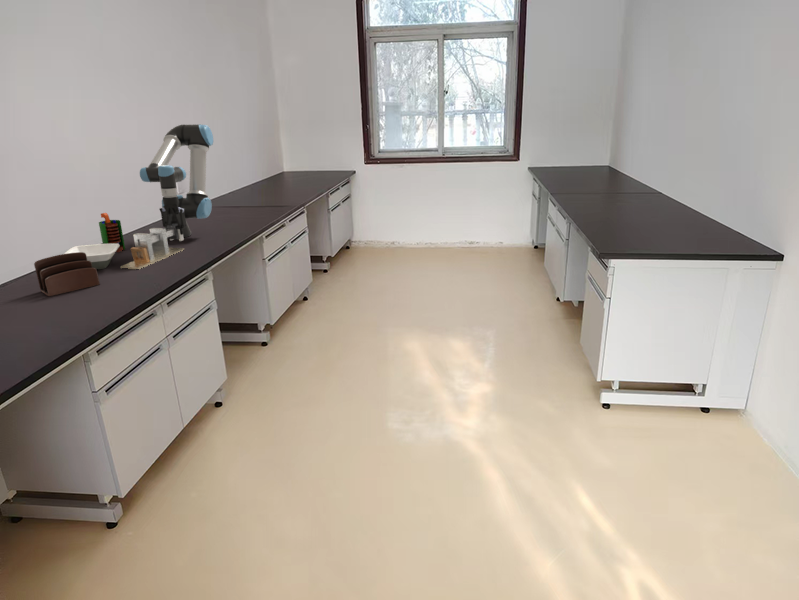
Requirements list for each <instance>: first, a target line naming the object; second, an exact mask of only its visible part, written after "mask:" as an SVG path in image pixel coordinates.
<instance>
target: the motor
mask: <svg viewBox="0 0 799 600" xmlns="http://www.w3.org/2000/svg"><path fill="white" fill-rule="evenodd" d="M100 216H101V217H100V218H103V219H104V220H102V221H99V222H98V226H99V231H100V237H101V242H102V243H101V244H117V243H118V244H119V245H120V246H119V248H118V249H117V251H116V252H117V253H121V252H123V251H124V250H126V246H125V240H124V234H123V233H124V232H123V228H122V223H121V220H119V219H110V217H109V214H108V213H107V212H103V213H100ZM122 250H123V251H122ZM120 251H121V252H120Z"/></svg>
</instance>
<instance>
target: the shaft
mask: <svg viewBox="0 0 799 600" xmlns="http://www.w3.org/2000/svg"><path fill="white" fill-rule="evenodd" d="M178 228H179V227H178V224H171V225H168V226H167V230H166V235H167V237H169V240H170V239H174V240H179V234H178ZM150 237H151V243H154V242H157V241H159V240H160V234H153V235H150ZM183 237H184V234H183ZM139 243H140V245H141V246H145V245H144V240H143V239H139Z"/></svg>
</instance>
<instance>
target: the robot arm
mask: <svg viewBox="0 0 799 600" xmlns="http://www.w3.org/2000/svg"><path fill="white" fill-rule="evenodd" d="M213 145H214V136H213V132H212V130H211V128H210V126H209V125H207V124H180V125H179V124H178V125H176V126H174V127H173V128H171V129H170V130H169V131H168V132H167V133H166V134H165V135H164V136H163V141H162V144H161V146H160V147H159V149H158V150H157V152H156V154H155V155H154V157H153V159H152V160H151V161H150V163H149V165H148V166H147V167H141V168H140V170H139V177H140V179H141V181H142V182H144V183H145V182H146V183H159V184H160V190H161V192H160V193H161V197H162V200H161V207H159V211H160V216H161V220H162V221H161V222H162V227H164V228H165V229H166V230H167V226H168V225H171V224H178V227H179V228H178V234H179V239H178V241H179V242H182V241H184V240H185V238H188V236H189V237H191V236H192V235H191V234H192V230H191V229H190V227H189V224H188V222H187V219H199V220H201V219H206V218H208V217H209V216H210V215H211V212H212V208H213V207H212V206H213V205H212V200H211V199H210V198H209V195H208V194H207V193H206V180H207V179H206V178H207V177H206V176H207V175H206V174H207V152H209V150H210V147H211V146H213ZM183 146H187V148H188V149H189V150H190V154H189V155H190V157H189V158H190V159H189V190H188V192H187V193H186V194H185V195H186V197H184V196H183V195H182V194H178V189H177V183H180V182H182V181H184V180H185V179H186V177H187V172H186V169H184V168H183V167H181V166H173V165H169V163H170V162H171V160H172V158H173V157H174V156H175V153H176V152H177V150H180V148H181V147H183ZM183 234H184V237H185V238H184V237H183ZM190 235H191V236H190ZM168 239H169V237H167V240H168ZM173 240H175V239H169V241H173Z"/></svg>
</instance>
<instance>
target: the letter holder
mask: <svg viewBox="0 0 799 600" xmlns="http://www.w3.org/2000/svg"><path fill="white" fill-rule="evenodd" d="M33 265H34V269H35V273H36V277H37V281H38V286H39V289H40V292H41V293H43V294H44V295H45V296H48V297H53V296H57V295H62V294H66V293H70V292H74V291H79V290H82V289H83V290H84V289H87V288H92V287H97V286H100V284H101V283H100V279H99V275H98V271H97V270H96V268H92V263H91V261H87V256H86V254H85V253H83V252H78V253H68V254H64V253H62V254H57V255H52V256H49V257H45V258H42V259H41V258H40V259H38V260H36V261H34V264H33Z"/></svg>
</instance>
